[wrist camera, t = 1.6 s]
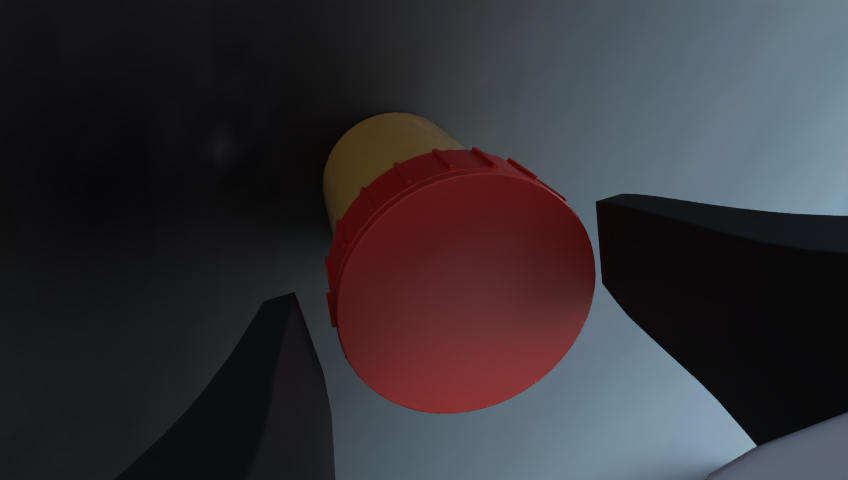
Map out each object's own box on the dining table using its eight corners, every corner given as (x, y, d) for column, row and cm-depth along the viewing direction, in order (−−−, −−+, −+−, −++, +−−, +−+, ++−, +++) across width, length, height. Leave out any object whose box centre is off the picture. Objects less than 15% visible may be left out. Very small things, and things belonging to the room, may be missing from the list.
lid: (426, 92, 11) (452, 109, 10) (603, 230, 13) (648, 261, 12) (275, 304, 12) (274, 351, 11) (463, 399, 14) (487, 449, 13)
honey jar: (378, 81, 17) (449, 137, 10) (490, 165, 19) (612, 260, 12) (293, 204, 18) (305, 332, 11) (408, 272, 20) (479, 418, 13)
